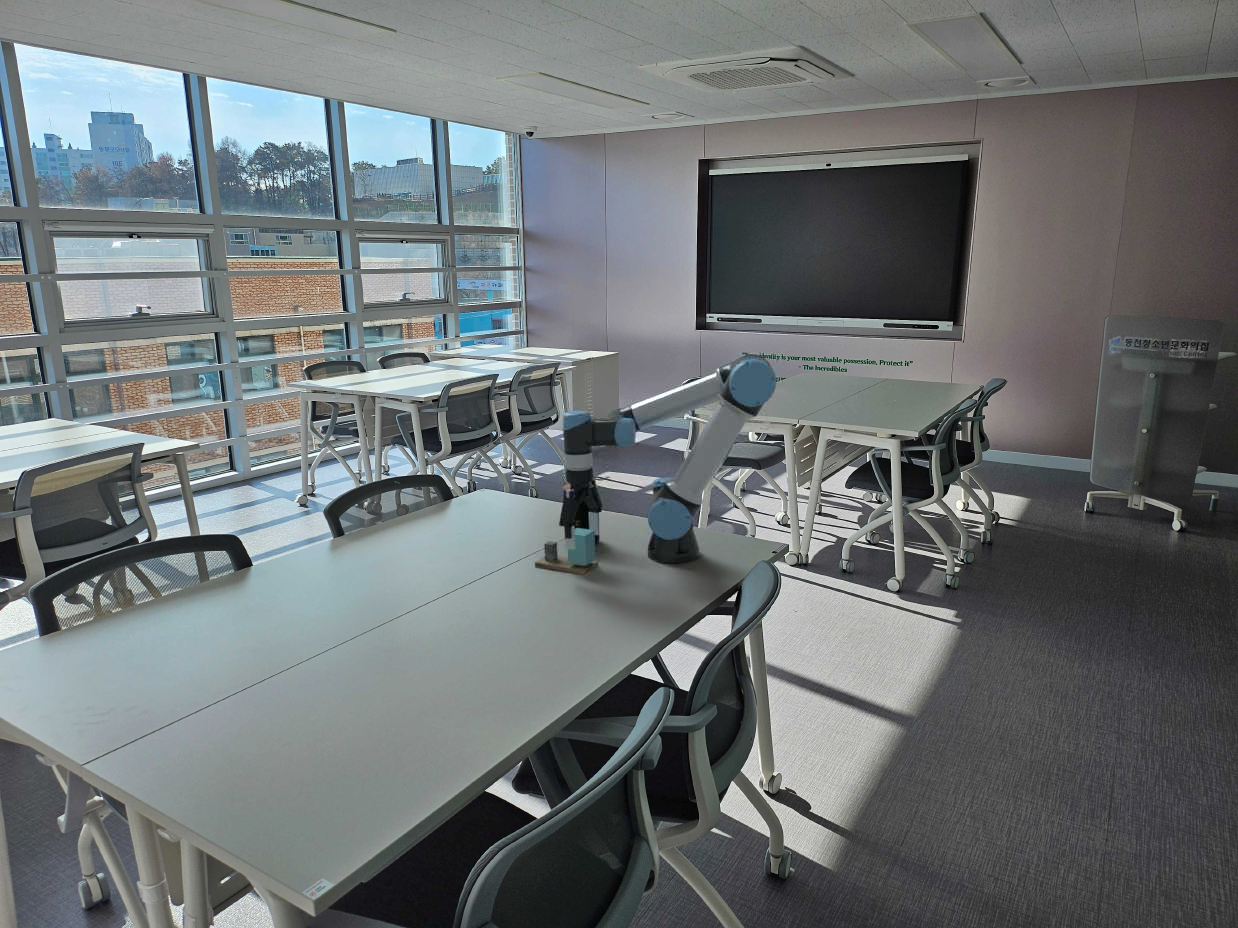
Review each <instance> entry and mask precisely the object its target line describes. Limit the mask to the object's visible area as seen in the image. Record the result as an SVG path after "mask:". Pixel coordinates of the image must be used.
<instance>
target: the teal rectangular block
mask: <svg viewBox="0 0 1238 928" xmlns="http://www.w3.org/2000/svg"><path fill="white" fill-rule="evenodd" d="M575 546H576V549H575V550H571V549H567V557H568V563H572V564H578V565H585V566H586V565H588V564H589V563H591V562H592V561H596V545H595V530H589V529H581V528H576V529H575Z"/></svg>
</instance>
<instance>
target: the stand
mask: <svg viewBox="0 0 1238 928" xmlns="http://www.w3.org/2000/svg"><path fill="white" fill-rule="evenodd" d="M543 548H544V557H542V558H540V559H539V560H537V561H534V567H536V568H542V569H548V570H552V571H553V570H554V571H560V572H566V573H571V574H576V575H577V574H579V575H586V574H588V573H589V572H590V571H592V570H594V569H595V568H596V567H598V566H599V561H597V560H594V561H592V562H591V563H589V564H588V565H586V566H585V565H578V564H572V563H568V556H566V555H565V556H564V555H559V554H558V542H557V541H552V540H551V541H550V540H549V541H547V542H544V547H543Z"/></svg>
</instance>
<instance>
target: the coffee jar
mask: <svg viewBox="0 0 1238 928" xmlns="http://www.w3.org/2000/svg"><path fill="white" fill-rule="evenodd" d="M562 488H563V489H562V490H563V491H564V490H570V484H569V483H567V484H565V485H563V487H562ZM596 488H597V491H599V485H598V484H597V483H596ZM562 496H563V499H564V495H562ZM597 504H598V503H597ZM589 512H592V511H590V509H589V508H588V506H587V505H586V503H585V501H584V500H583V501H582V502H581V504H580V505H579V506H578V509H577V513H576V516H575V519H574V522H573V526H574V527H575V529H576V528H581V529H589ZM598 520H599V521H600V512H598ZM600 537H601V536H600V534H599V535H595V546H596V545H597V544H598V543H599V541H600Z"/></svg>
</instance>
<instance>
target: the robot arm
mask: <svg viewBox="0 0 1238 928" xmlns="http://www.w3.org/2000/svg"><path fill="white" fill-rule="evenodd" d="M776 387H777V377H776V372H775V371H774V369H773V367H772V366H771V364H770V362H769V361H768V360H767V359H766V358H764V356H763V357H762V356H761V355H758V354H746V355H742V356H740V357H738V358H736V359H735V360H733V361H732V362H728V363H727V364H724V365H721V366H719V367H717V368H716V370H715V372H714V373H711V374H709V375H707V376H703V377H700V378H699V379H696V380H694V381H693V380H692V381H690V382H689V383H688V382H687V383H685V384H683V385H680V386H678V387H674V388H672V389H670V390H668V391H665V392H661V393H659V394H657V395H654V396H651V397H649V398H646V399H644V400H641V401H638V402H636V403H633V404H631V405H628V406H625V407H622V408H616V409H614V410H612V411H611V412H610V413H609V414H608V416H607V418H606V417H605V418H592V416H591V412H590V411H588V410H571V411H570V410H569V411H567V412H565V413H564V415H563V417H562V418H563V419H562V423H563V425H562V426H563V428H562V432H563V445H564V447H563V449H564V462H565V463H564V465H565V467H566V468H565V481H566V483H567V484H570V490H563V496H564V498H563V500H562V506H561V510H560V511H561V512H560V517H559V523H558V525H559V527H563V528H564V541H565V542H564V543H565V549H566V550H568V549H571V550H575V549H576V546H575V527H574V526H573V522H574V519H575V516H576V513H577V509H578V506H579V505H580V504H581V502H582V501H583V500H584V501H585V503H586V505H587V506H588V508H589V509H590V511H592V512H589V530H595V535H599V536H600V519H599V520H598V512H599V513H601V512H602V510H603V504H602V500H601V496H600V494H599V490H597V488H596V484H597V482H596V481H597V480H596V479H594V468H593V467H592V466H593V464H594V463H593V447H620V448H621V447H627V446H628V447H630V446H634V444H635V442H636V435H637V434H636V433H637V432H639V431H641V430H643V429H646V428H648V427H651V426H654V425H656V424H657V425H658V424H659V423H662V422H666V421H667V420H670V419H673V418H676V417H679V416H682V415H684V414H687V413H689V412H693V411H695V410H698V409H700V408H704V407H706V406H709V405H711V404H714V403H716V402H718V405H717V406H716V408H715V409H714V411H713V413H712V414H711V416H710V418H709V420H708V421H707V423H706V424H705V426H704V428H703V429H702V431H701V432H700V434H699V436H698V437H697V439H696V441H695V443H694V444H693V446H692V448H691V449H690V451H689V452H688V454H687V456H686V457H685V459H684V461H683V462H682V464H681V466H680V467H679V469H678V471H677V472H676V473H675V475H674V477H659V478H656V479H654V481H653V483H652V487H651V489H652V501H651V503H650V507H648V508H649V509H648V512H647V522H648V526H649V528H650V530H651V532H652V533H651V535H650V539H649V542H648V545H647V556H648V558H649V559H651V560H653V561H656V562H660V563H666V564H667V563H668V564H681V563H682V564H683V563H687V562H688V563H689V562H692V561H695V560H696V559H698V558H699V556H700V545H699V543H698V540H697V537H696V534H695V531H694V518H695V516H696V514H697V513H698V511H699V509H700V508H701V506H702V505H703V502H704V501H703V497H702V495H703V492H704V491H705V489H706V487H707V486H708V484H709V482H710V480H712V477H713V476H714V474H715V473H716V471H717V470H718V468H719V466H720V464H721V463H722V462H723V460H724V458H725V457H726V455H727V453H728V452H729V450H730V449H731V447H732V446H733V444H734V442H735V441H736V438H737V437H738V435H739V434H740V432H741V430H743V427H744V425H745V424H746V423H747V421H748V420H751V419H754V418H756V417H757V416H758V414H759V413H760V412H761V410H762V408H763V406H764V405H765V404H766V403H767V402H768V401H769V400H770V399H772V396H773V395H774V392H775V390H776ZM597 503H598V504H597Z"/></svg>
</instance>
